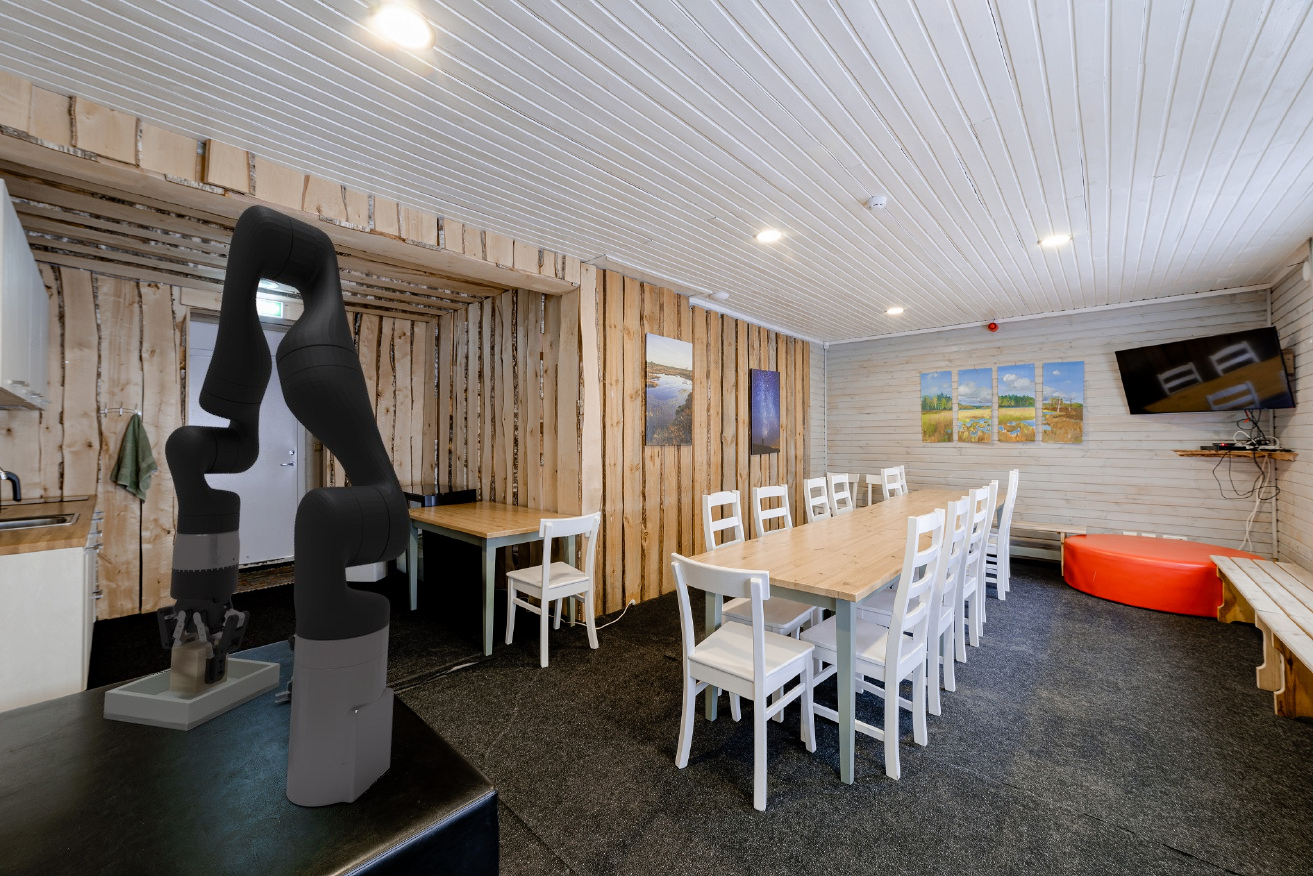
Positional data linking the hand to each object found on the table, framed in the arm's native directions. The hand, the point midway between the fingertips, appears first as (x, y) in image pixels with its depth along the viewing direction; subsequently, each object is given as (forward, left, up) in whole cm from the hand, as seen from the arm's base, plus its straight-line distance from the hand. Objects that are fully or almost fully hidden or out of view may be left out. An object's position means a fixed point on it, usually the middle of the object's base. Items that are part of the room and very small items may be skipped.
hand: (199, 679), depth 77 cm
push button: (-13, -4, -3) cm, 14 cm away
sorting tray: (0, 0, -3) cm, 3 cm away
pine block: (0, 0, -1) cm, 1 cm away
